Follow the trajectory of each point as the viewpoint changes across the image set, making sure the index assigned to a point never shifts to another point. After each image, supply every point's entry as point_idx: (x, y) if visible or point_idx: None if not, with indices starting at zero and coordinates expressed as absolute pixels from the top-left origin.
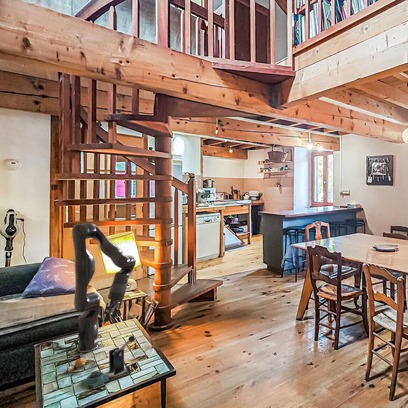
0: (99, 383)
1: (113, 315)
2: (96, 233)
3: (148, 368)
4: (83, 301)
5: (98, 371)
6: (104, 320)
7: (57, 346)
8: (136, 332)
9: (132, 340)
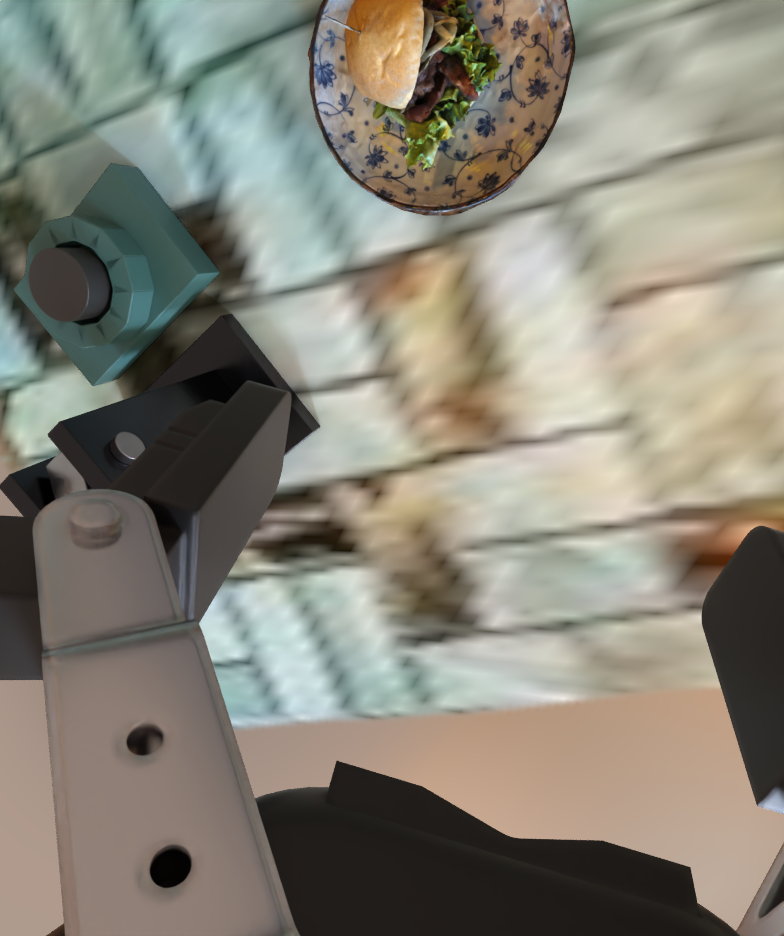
0: (46, 324)
1: (753, 608)
2: None
3: (228, 624)
4: None
5: (77, 308)
6: (198, 407)
7: None
8: None
9: None
